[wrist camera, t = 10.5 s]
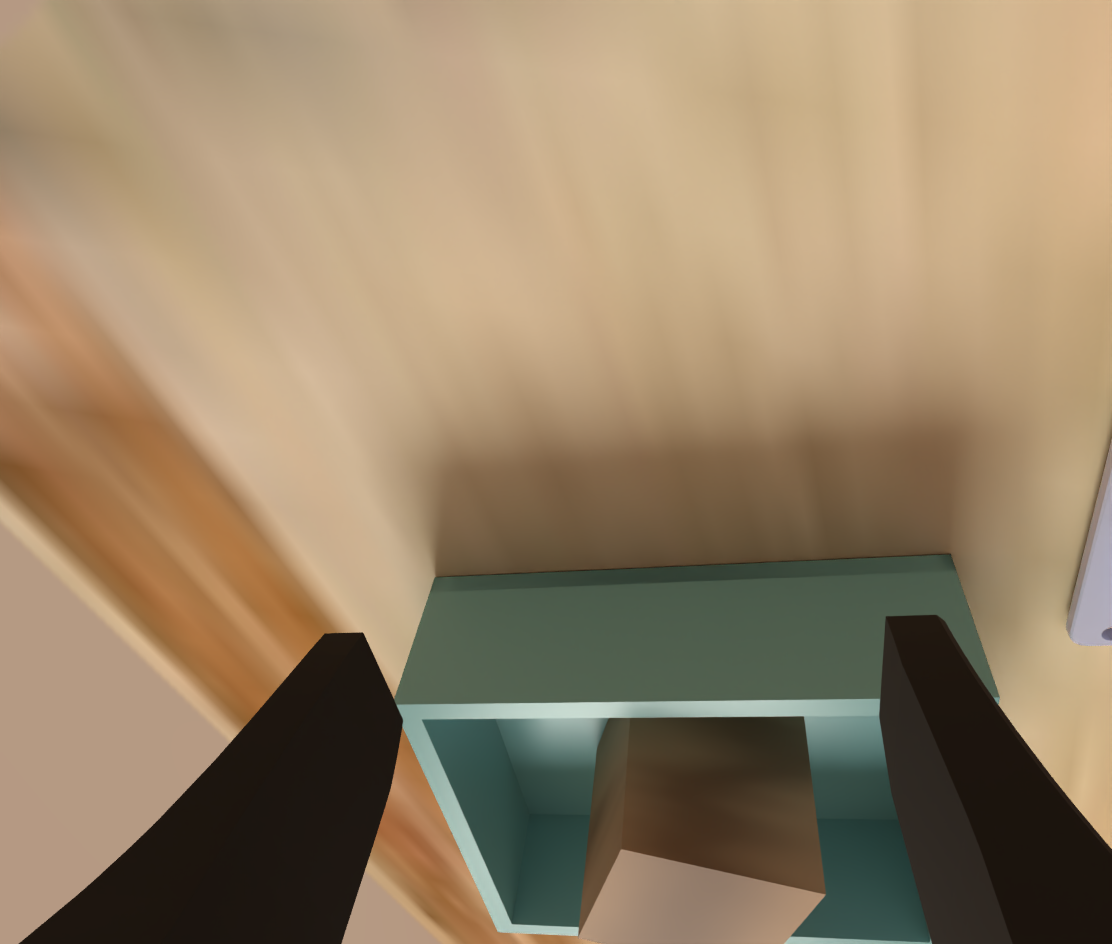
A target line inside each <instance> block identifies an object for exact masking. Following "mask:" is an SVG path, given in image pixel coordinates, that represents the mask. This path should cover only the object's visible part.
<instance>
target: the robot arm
mask: <svg viewBox="0 0 1112 944" xmlns="http://www.w3.org/2000/svg"><path fill="white" fill-rule="evenodd" d="M1110 627H1112V440H1111V444H1110V448H1109V452H1108V456H1107V460H1106V464H1105V469H1104V473H1103V477H1102V481H1101V485H1100V489H1099V493H1098V497H1097V501H1096V505H1095V509H1094V513H1093V517H1092V521H1091V525H1090V529H1089V533H1088V537H1087V541H1086V545H1085V549H1084V553H1083V557H1082V561H1081V566H1080V570H1079V574H1078V578H1077V582H1076V586H1075V590H1074V594H1073V598H1072V602H1071V606H1070V610H1069V614H1068V618H1067V622H1066V630H1067V632H1068V635H1069V637H1070V639H1071V640H1072V641H1073V642H1074V643H1076V644H1079V645H1085V646H1102V645H1112V628H1110ZM1107 628H1109V629H1107ZM879 719H880V726H881V732H882V739H883V745H884V751H885V758H886V764H887V770H888V776H889V782H890V788H891V794H892V798H893V801H894V805H895V809H896V813H897V817H898V820H899V824H900V828H901V831H902V835H903V839H904V843H905V846H906V850H907V854H908V857H909V861H910V865H911V868H912V872H913V876H914V879H915V883H916V887H917V890H918V894H919V898H920V901H921V905H922V909H923V912H924V916H925V920H926V923H927V927H928V931H929V934H930V938H931V942H932V944H1112V849H1111V848H1110V847H1109V846H1108V844H1107V843H1106V842H1105V841H1104V840H1103V839H1102V837H1101V836H1100V835H1099V834H1098V833H1097V831H1096V830H1095V829H1094V828H1093V827H1092V825H1091V824H1090V823H1089V822H1088V821H1087V819H1086V818H1085V817H1084V816H1083V815H1082V814H1081V812H1080V811H1079V810H1078V809H1077V808H1076V806H1075V805H1074V804H1073V803H1072V802H1071V800H1070V799H1069V798H1068V797H1067V795H1066V794H1065V793H1064V792H1063V790H1062V789H1061V788H1060V787H1059V785H1058V784H1057V783H1056V782H1055V780H1054V779H1053V778H1052V777H1051V775H1050V774H1049V773H1048V771H1047V770H1046V769H1045V767H1044V766H1043V765H1042V763H1041V762H1040V761H1039V759H1038V758H1037V757H1036V755H1035V754H1034V753H1033V751H1032V750H1031V749H1030V748H1029V746H1028V745H1027V744H1026V742H1025V741H1024V740H1023V738H1022V737H1021V736H1020V734H1019V733H1018V732H1017V730H1016V729H1015V728H1014V726H1013V725H1012V723H1011V722H1010V721H1009V719H1008V718H1007V716H1006V715H1005V714H1004V712H1003V711H1002V709H1001V708H1000V707H999V705H998V704H997V702H996V701H995V699H994V698H993V696H992V695H991V693H990V692H989V691H988V689H987V688H986V686H985V685H984V683H983V682H982V680H981V679H980V677H979V676H978V674H977V673H976V671H975V670H974V668H973V667H972V665H971V663H970V662H969V660H968V659H967V657H966V656H965V654H964V652H963V651H962V649H961V647H960V646H959V644H958V642H957V641H956V639H955V638H954V636H953V634H952V632H951V631H950V629H949V627H948V625H947V624H946V622H945V621H944V620H943V619H942V618H940V617H939V616H938V615H908V616H886V619H885V634H884V649H883V664H882V679H881V694H880V709H879ZM402 725H403V718H402V716H401V714H400V712H399V709H398V707H397V705H396V703H395V701H394V699H393V696H392V694H391V692H390V690H389V688H388V686H387V683H386V681H385V679H384V677H383V675H382V672H381V670H380V668H379V666H378V664H377V662H376V659H375V657H374V655H373V653H372V651H371V649H370V646H369V644H368V642H367V640H366V638H365V636H364V633H363V632H362V633H330V634H324V635H323V636H322V637H321V639H320V640H319V641H318V642H317V643H316V644H315V645H314V646H313V648H312V649H311V650H310V651H309V652H308V653H307V655H306V656H305V657H304V658H303V659H302V660H301V662H300V663H299V664H298V665H297V666H296V667H295V669H294V670H293V671H292V672H291V673H290V674H289V676H288V677H287V678H286V679H285V680H284V681H283V683H282V684H281V685H280V686H279V687H278V689H277V690H276V691H275V692H274V693H273V694H272V696H271V697H270V698H269V699H268V700H267V701H266V703H265V704H264V705H263V706H262V707H261V708H260V710H259V711H258V712H257V713H256V714H255V715H254V717H253V718H252V719H251V720H250V721H249V722H248V723H247V725H246V726H245V727H244V728H243V729H242V730H241V731H240V732H239V734H238V735H237V736H236V737H235V738H234V739H233V740H232V742H231V743H230V744H229V745H228V746H227V747H226V748H225V749H224V751H223V752H222V753H221V754H220V755H219V756H218V758H217V759H216V760H215V761H214V762H213V763H212V764H211V765H210V766H209V767H208V768H207V769H206V770H205V771H204V772H203V773H202V775H201V776H200V777H199V778H198V779H197V780H196V781H195V782H194V783H193V784H192V785H191V786H190V787H189V788H188V789H187V791H185V793H183V795H182V796H181V797H180V798H179V799H178V800H177V801H176V802H175V803H174V804H173V805H172V806H171V807H170V808H169V809H168V810H167V811H166V812H165V814H164V815H163V816H162V817H161V818H160V819H159V820H158V821H157V822H156V823H155V824H154V825H153V826H152V827H151V828H150V829H149V830H148V831H147V832H146V833H145V834H144V835H143V836H141V837H140V838H139V839H138V840H137V841H136V842H135V843H134V844H133V845H132V846H131V847H130V848H129V849H128V850H127V851H126V852H125V853H124V854H122V855H121V856H120V857H119V858H118V859H117V860H116V861H115V862H114V863H113V864H112V865H110V866H109V867H108V868H107V869H106V870H105V871H104V872H103V873H102V874H101V875H100V876H99V877H97V878H96V879H95V880H94V881H93V882H92V883H91V884H90V885H88V886H87V887H86V888H85V889H84V890H83V891H82V892H80V893H79V894H78V895H77V896H76V897H75V898H73V899H72V900H71V901H70V902H69V903H67V904H66V905H65V906H64V907H63V908H61V909H60V910H59V911H58V912H57V913H55V914H54V915H53V916H52V917H51V918H49V919H48V920H47V921H46V922H44V923H43V924H42V925H41V926H40V927H38V928H37V929H36V930H35V931H34V932H33V933H31V934H30V935H29V936H28V937H26V938H25V939H24V940H23V941H22V942H20V943H19V944H341V943H342V940H343V937H344V933H345V930H346V927H347V924H348V921H349V918H350V915H351V912H352V909H353V905H354V902H355V899H356V896H357V893H358V890H359V887H360V884H361V881H362V878H363V875H364V871H365V868H366V865H367V862H368V859H369V856H370V853H371V850H372V847H373V844H374V840H375V837H376V834H377V831H378V828H379V825H380V821H381V818H382V815H383V812H384V809H385V805H386V802H387V799H388V795H389V792H390V789H391V784H392V779H393V774H394V770H395V765H396V760H397V754H398V748H399V743H400V737H401V731H402Z"/></svg>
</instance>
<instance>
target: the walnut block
mask: <svg viewBox="0 0 1112 944" xmlns="http://www.w3.org/2000/svg"><path fill="white" fill-rule="evenodd" d="M825 895H826V891H825V882H824V874H823V866H822V858H821V850H820V842H819V833H818V825H817V817H816V809H815V801H814V793H813V785H812V776H811V768H810V760H809V752H808V744H807V736H806V728H805V719H804V716H782V717H660V718H609V719H608V721H607V724H606V726H605V729H604V732H603V734H602V737H601V739H600V742H599V744H598V747H597V753H596V763H595V773H594V783H593V793H592V803H591V813H590V822H589V832H588V842H587V852H586V862H585V872H584V882H583V892H582V902H581V912H580V921H579V931H578V938H580V939H584V940H589V941H593V942H598V943H602V944H784V943H785V942H786V941H787V940H788V939H789V938H790V936H791V935H792V934H793V933H794V932H795V930H796V929H797V928H798V927H799V926H800V925H801V923H802V922H803V921H804V920H805V919H806V918H807V916H808V915H809V914H810V913H811V912H812V911H813V909H814V908H815V907H816V906H817V905H818V903H819V902H820V901H821V900H822V899H823V898H824V896H825Z"/></svg>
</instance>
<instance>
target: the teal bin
mask: <svg viewBox="0 0 1112 944" xmlns="http://www.w3.org/2000/svg"><path fill="white" fill-rule="evenodd" d="M908 615H938V616H939V617H940V618H942V619H943V620H944V621H945V622H946V624H947V625H948V627H949V629H950V631H951V632H952V634H953V636H954V638H955V639H956V641H957V642H958V644H959V646H960V647H961V649H962V651H963V652H964V654H965V656H966V657H967V659H968V660H969V662H970V663H971V665H972V667H973V668H974V670H975V671H976V673H977V674H978V676H979V677H980V679H981V680H982V682H983V683H984V685H985V686H986V688H987V689H988V691H989V692H990V693H991V695H992V696H993V698H994V699H995V701H996V702H997V704H999V699H1000V696H999V694H998V691H997V688H996V685H995V682H994V679H993V676H992V673H991V670H990V667H989V665H988V662H987V659H986V656H985V653H984V650H983V647H982V644H981V641H980V638H979V636H978V633H977V630H976V627H975V624H974V621H973V618H972V615H971V612H970V609H969V607H968V604H967V601H966V598H965V595H964V592H963V589H962V586H961V583H960V580H959V577H958V575H957V572H956V569H955V566H954V563H953V560H952V557H951V554H948V555H926V556H903V557H881V558H859V559H836V560H814V561H792V562H769V563H747V564H725V565H702V566H680V567H658V568H635V569H613V570H591V571H568V572H546V573H523V574H501V575H479V576H456V577H435V579H434V582H433V585H432V588H431V591H430V594H429V597H428V600H427V603H426V606H425V609H424V612H423V615H422V618H421V621H420V624H419V627H418V630H417V633H416V636H415V639H414V642H413V645H412V648H411V651H410V654H409V657H408V660H407V663H406V666H405V669H404V672H403V675H402V678H401V681H400V684H399V687H398V690H397V693H396V696H395V699H394V701H395V703H396V705H397V707H398V709H399V712H400V714H401V716H402V718H403V725H402V726H403V729H404V731H405V733H406V735H407V737H408V739H409V741H410V744H411V746H412V748H413V750H414V752H415V754H416V756H417V759H418V761H419V763H420V765H421V767H422V769H423V772H424V774H425V776H426V778H427V780H428V782H429V784H430V787H431V789H432V791H433V793H434V795H435V797H436V800H437V802H438V804H439V806H440V808H441V810H442V812H443V815H444V817H445V819H446V821H447V823H448V825H449V827H450V830H451V832H452V834H453V836H454V838H455V840H456V843H457V845H458V847H459V849H460V851H461V853H462V855H463V858H464V860H465V862H466V864H467V866H468V868H469V870H470V873H471V875H472V877H473V879H474V881H475V883H476V886H477V888H478V890H479V892H480V894H481V896H482V898H483V901H484V903H485V905H486V907H487V909H488V911H489V914H490V916H491V918H492V920H493V922H494V924H495V926H496V929H497V931H498V932H504V933H526V934H548V935H570V936H578V931H579V921H580V912H581V902H582V892H583V882H584V872H585V862H586V852H587V842H588V832H589V822H590V813H591V803H592V793H593V783H594V773H595V763H596V753H597V747H598V744H599V742H600V739H601V737H602V734H603V732H604V729H605V726H606V724H607V721H608V719H609V718H660V717H782V716H804V719H805V728H806V736H807V744H808V752H809V760H810V768H811V776H812V785H813V793H814V801H815V809H816V817H817V825H818V833H819V842H820V850H821V858H822V866H823V874H824V882H825V891H826V895H825V896H824V898H823V899H822V900H821V901H820V902H819V903H818V905H817V906H816V907H815V908H814V909H813V911H812V912H811V913H810V914H809V915H808V916H807V918H806V919H805V920H804V921H803V922H802V923H801V925H800V926H799V927H798V928H797V929H796V930H795V932H794V933H793V934H792V935H791V936H790V938H789V939H788V940H787V941H786V942H785V943H784V944H932V942H931V938H930V934H929V931H928V927H927V923H926V920H925V916H924V912H923V909H922V905H921V901H920V898H919V894H918V890H917V887H916V883H915V879H914V876H913V872H912V868H911V865H910V861H909V857H908V854H907V850H906V846H905V843H904V839H903V835H902V831H901V828H900V824H899V820H898V817H897V813H896V809H895V805H894V801H893V798H892V794H891V788H890V782H889V776H888V770H887V764H886V758H885V751H884V745H883V739H882V732H881V726H880V719H879V709H880V694H881V679H882V664H883V649H884V634H885V619H886V616H908Z"/></svg>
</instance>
